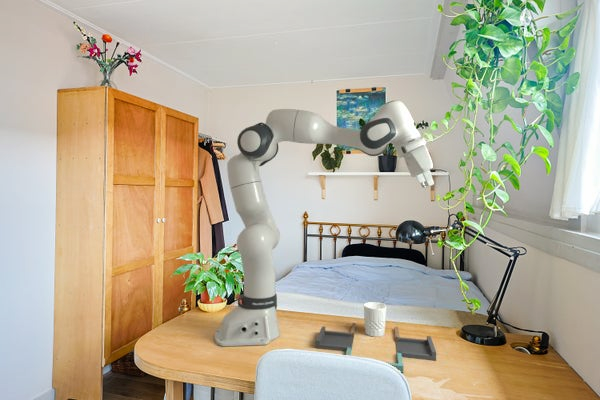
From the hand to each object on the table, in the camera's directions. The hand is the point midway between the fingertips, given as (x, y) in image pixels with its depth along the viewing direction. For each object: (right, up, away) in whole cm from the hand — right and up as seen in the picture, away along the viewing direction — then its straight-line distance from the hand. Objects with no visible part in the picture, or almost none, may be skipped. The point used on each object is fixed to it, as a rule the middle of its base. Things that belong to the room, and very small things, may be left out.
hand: (428, 186), depth 116 cm
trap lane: (-17, -52, +2) cm, 55 cm away
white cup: (-15, -52, +13) cm, 56 cm away
